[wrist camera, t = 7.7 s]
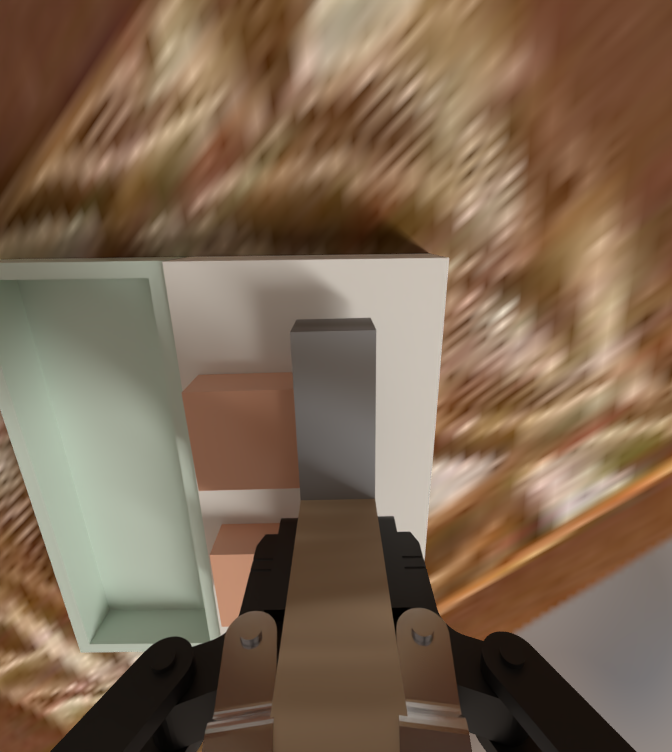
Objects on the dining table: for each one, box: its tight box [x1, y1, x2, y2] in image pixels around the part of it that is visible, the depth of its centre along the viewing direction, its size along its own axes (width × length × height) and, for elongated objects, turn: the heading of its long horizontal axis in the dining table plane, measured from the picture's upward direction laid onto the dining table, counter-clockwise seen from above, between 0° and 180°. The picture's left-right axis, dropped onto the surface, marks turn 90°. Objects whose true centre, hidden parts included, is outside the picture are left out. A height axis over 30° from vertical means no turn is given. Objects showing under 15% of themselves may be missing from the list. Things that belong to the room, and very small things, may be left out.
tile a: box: [182, 372, 300, 491], centre depth 15 cm, size 4×4×2 cm
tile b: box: [209, 523, 280, 627], centre depth 17 cm, size 4×4×2 cm
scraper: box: [270, 318, 408, 752], centre depth 11 cm, size 14×2×10 cm, turn 2°
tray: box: [0, 257, 221, 652], centre depth 19 cm, size 20×8×2 cm, turn 1°
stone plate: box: [162, 254, 449, 635], centre depth 19 cm, size 20×10×3 cm, turn 1°
